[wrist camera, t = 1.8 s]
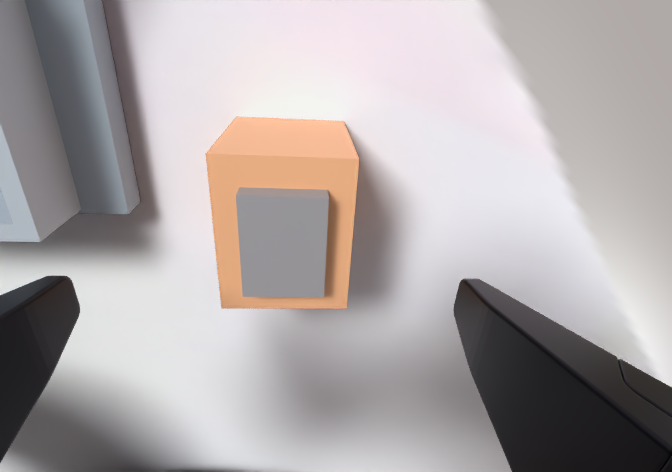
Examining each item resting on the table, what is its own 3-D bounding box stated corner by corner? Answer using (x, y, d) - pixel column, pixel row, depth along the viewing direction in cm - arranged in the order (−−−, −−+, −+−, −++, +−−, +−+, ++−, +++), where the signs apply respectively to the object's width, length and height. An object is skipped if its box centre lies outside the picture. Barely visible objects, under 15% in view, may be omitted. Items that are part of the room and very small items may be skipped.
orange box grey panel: (336, 237, 17) (348, 320, 12) (244, 235, 17) (217, 320, 12) (343, 120, 15) (362, 165, 10) (236, 116, 14) (199, 160, 9)
